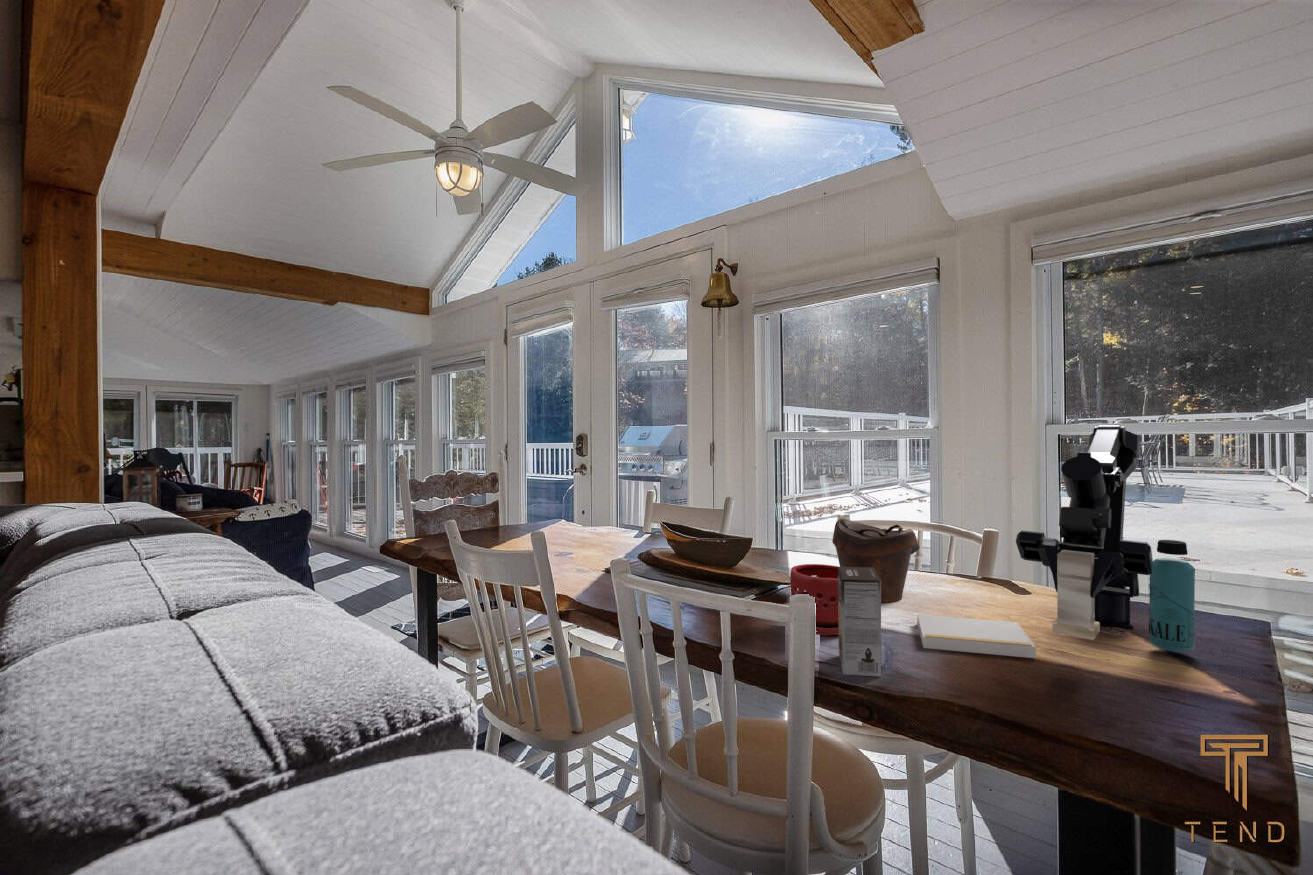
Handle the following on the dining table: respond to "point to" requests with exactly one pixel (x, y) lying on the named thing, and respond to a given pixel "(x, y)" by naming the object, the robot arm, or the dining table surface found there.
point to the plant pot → (819, 593)
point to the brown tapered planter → (877, 553)
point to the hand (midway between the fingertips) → (1074, 593)
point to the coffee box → (859, 621)
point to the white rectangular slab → (974, 636)
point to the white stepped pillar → (1075, 595)
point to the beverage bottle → (1172, 599)
